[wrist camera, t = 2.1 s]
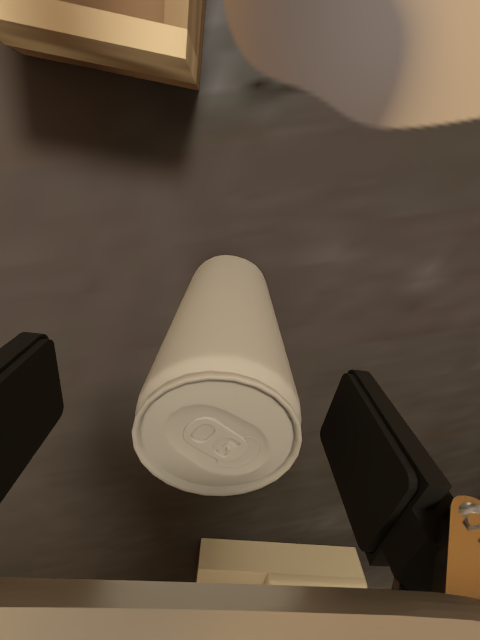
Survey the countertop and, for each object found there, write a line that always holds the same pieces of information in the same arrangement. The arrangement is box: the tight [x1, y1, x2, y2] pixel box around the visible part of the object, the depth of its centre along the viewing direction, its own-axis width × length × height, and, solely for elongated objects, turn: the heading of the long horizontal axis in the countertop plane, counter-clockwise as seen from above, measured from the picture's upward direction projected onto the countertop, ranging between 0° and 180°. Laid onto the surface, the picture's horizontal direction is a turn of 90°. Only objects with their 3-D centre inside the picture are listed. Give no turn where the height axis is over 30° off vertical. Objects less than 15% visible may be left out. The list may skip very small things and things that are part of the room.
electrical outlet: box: [196, 538, 367, 588], centre depth 32 cm, size 7×4×18 cm
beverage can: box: [132, 255, 302, 496], centre depth 13 cm, size 5×5×12 cm
